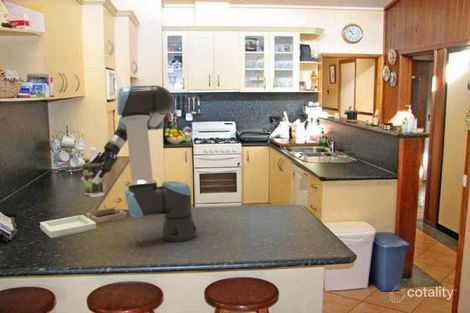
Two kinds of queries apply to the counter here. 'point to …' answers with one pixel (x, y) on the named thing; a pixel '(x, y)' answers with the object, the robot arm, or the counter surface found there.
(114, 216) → the collar
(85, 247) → the counter surface
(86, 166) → the coffee can
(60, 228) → the tray
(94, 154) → the alcohol
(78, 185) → the counter surface
